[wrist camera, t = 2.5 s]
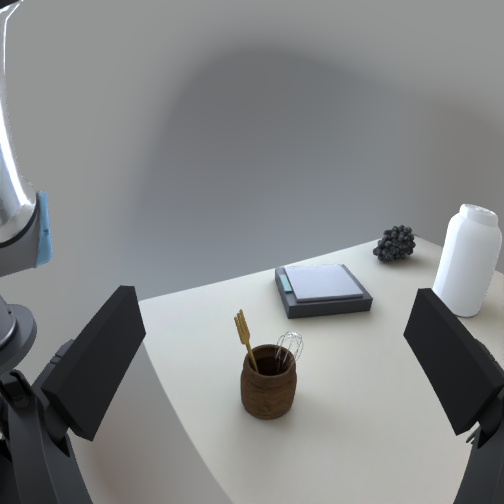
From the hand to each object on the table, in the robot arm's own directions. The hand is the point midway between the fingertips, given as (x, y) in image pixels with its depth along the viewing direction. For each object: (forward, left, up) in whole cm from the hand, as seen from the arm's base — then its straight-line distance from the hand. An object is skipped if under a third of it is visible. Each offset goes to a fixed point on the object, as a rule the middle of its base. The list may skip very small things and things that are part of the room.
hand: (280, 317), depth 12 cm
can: (+43, +24, -19) cm, 53 cm away
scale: (+14, +33, -19) cm, 40 cm away
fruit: (+39, +48, -20) cm, 65 cm away
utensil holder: (+1, +10, -20) cm, 22 cm away
